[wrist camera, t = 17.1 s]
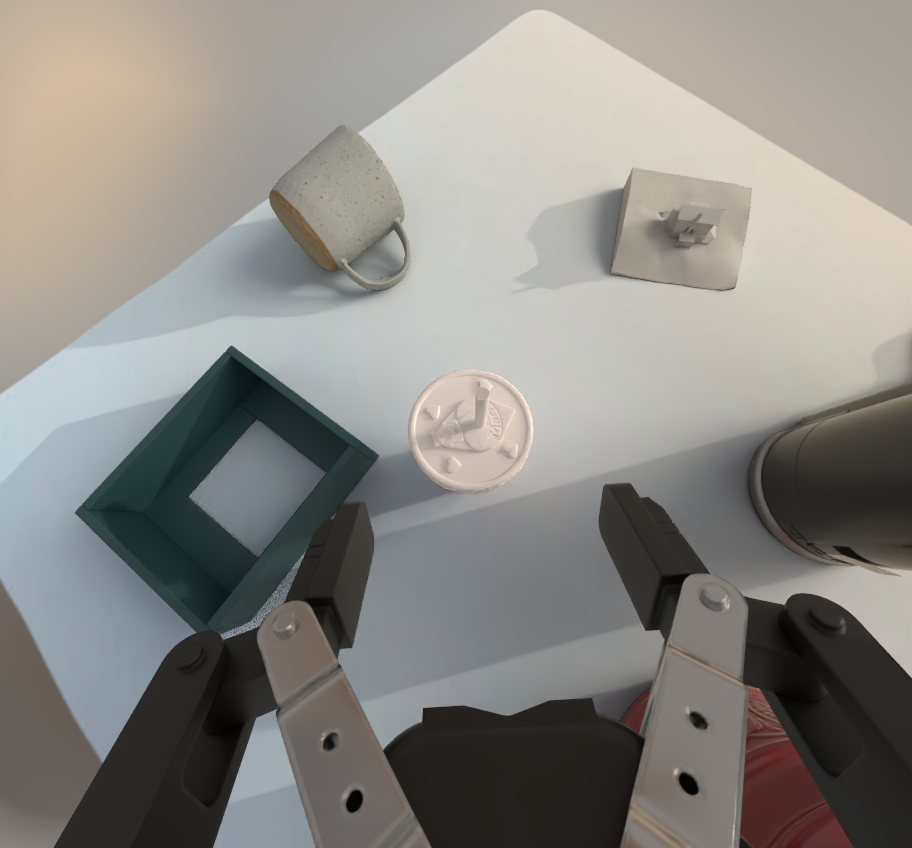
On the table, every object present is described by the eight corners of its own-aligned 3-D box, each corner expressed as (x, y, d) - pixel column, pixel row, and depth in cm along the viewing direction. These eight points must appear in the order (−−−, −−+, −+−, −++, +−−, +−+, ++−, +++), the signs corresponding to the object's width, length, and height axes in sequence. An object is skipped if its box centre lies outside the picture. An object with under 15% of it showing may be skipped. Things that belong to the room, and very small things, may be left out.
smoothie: (528, 485, 27) (581, 445, 14) (445, 517, 27) (417, 507, 13) (495, 407, 29) (513, 303, 15) (417, 436, 29) (366, 355, 15)
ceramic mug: (290, 244, 34) (240, 166, 26) (358, 190, 35) (328, 101, 28) (367, 317, 32) (336, 254, 24) (436, 257, 33) (427, 180, 26)
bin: (265, 370, 31) (230, 344, 26) (379, 455, 28) (362, 442, 24) (135, 514, 28) (73, 512, 24) (250, 622, 26) (204, 641, 21)
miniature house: (613, 296, 31) (632, 265, 27) (597, 188, 34) (611, 148, 30) (762, 289, 31) (802, 256, 27) (732, 180, 34) (763, 138, 30)
